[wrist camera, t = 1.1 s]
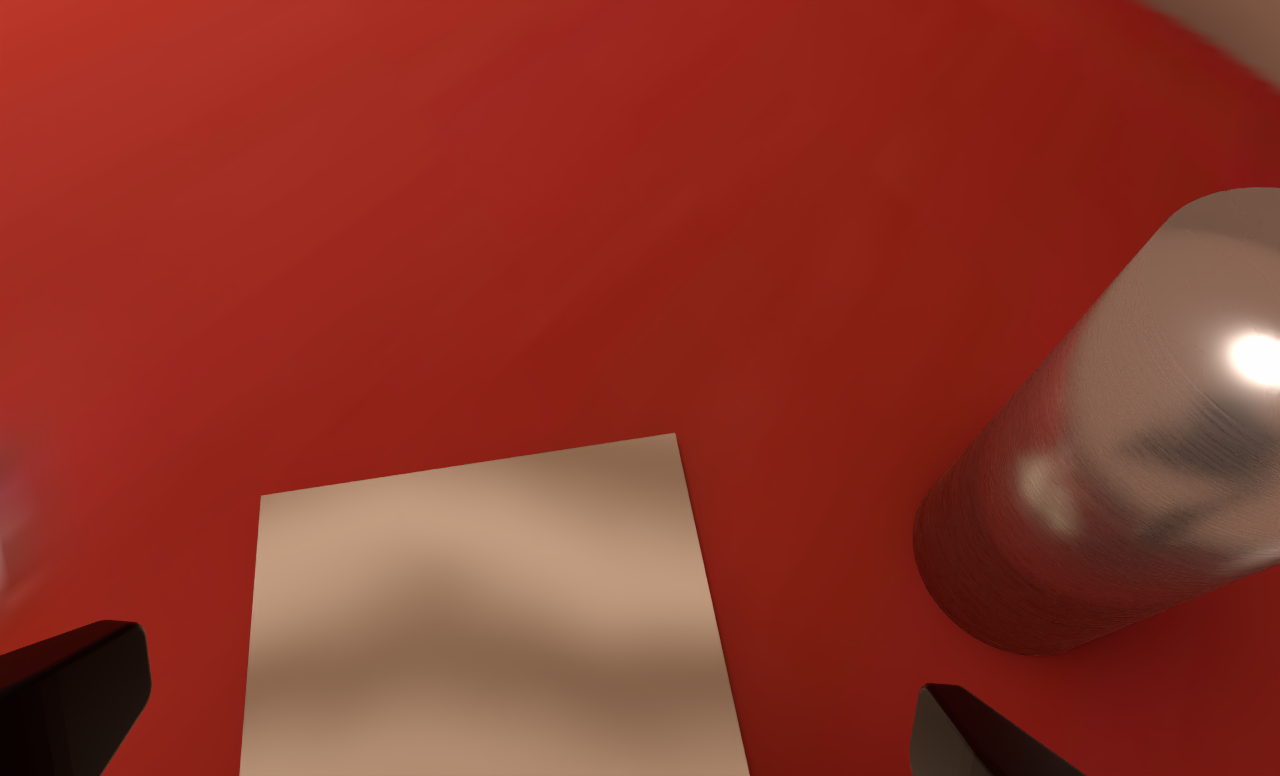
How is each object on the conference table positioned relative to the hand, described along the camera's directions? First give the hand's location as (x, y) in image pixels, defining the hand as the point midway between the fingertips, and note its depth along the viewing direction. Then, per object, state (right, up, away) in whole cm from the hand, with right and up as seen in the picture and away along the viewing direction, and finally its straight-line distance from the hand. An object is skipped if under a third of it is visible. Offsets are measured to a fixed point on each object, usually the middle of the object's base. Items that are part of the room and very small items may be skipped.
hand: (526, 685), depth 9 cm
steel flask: (+13, -2, +15) cm, 20 cm away
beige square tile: (-3, -5, +13) cm, 14 cm away
